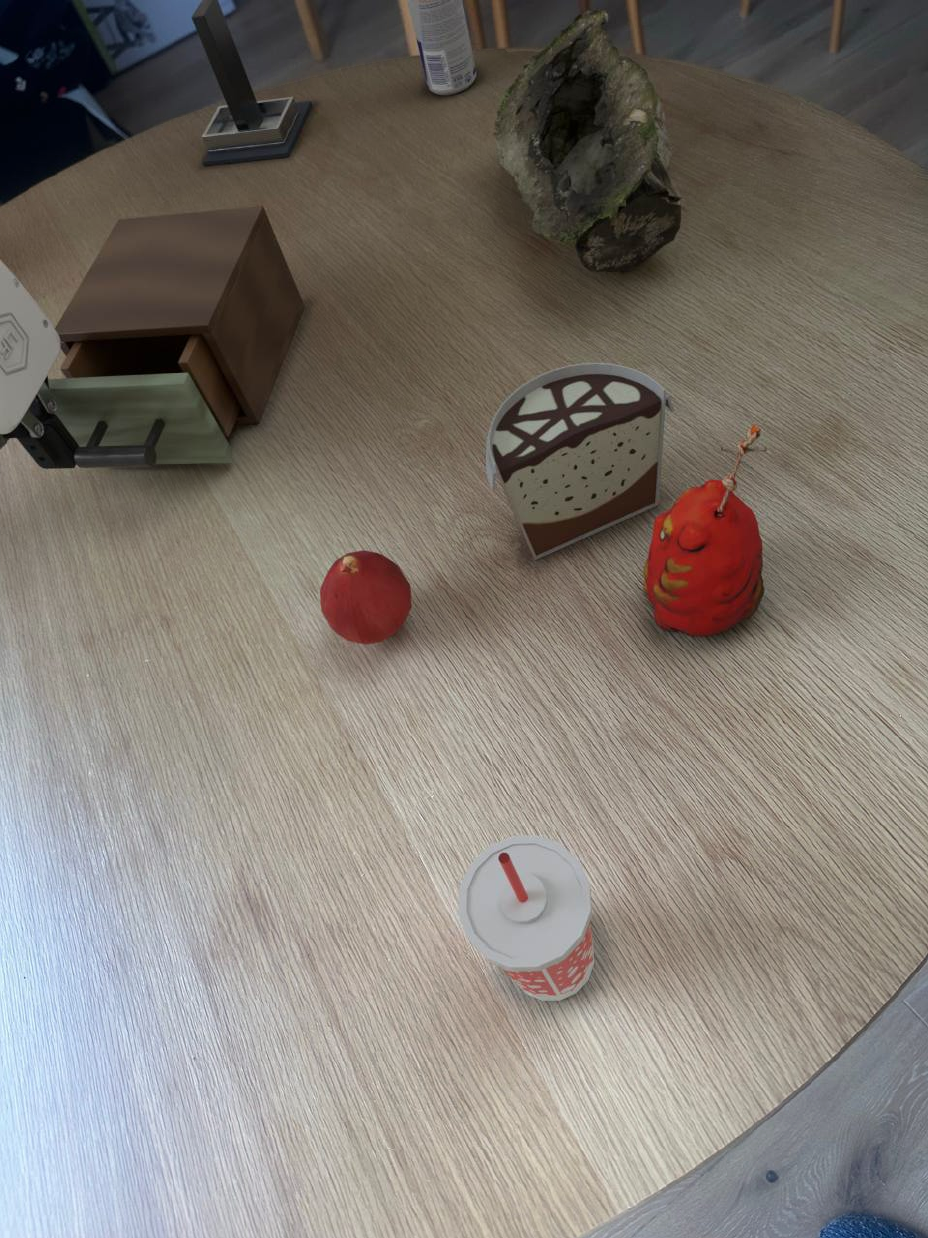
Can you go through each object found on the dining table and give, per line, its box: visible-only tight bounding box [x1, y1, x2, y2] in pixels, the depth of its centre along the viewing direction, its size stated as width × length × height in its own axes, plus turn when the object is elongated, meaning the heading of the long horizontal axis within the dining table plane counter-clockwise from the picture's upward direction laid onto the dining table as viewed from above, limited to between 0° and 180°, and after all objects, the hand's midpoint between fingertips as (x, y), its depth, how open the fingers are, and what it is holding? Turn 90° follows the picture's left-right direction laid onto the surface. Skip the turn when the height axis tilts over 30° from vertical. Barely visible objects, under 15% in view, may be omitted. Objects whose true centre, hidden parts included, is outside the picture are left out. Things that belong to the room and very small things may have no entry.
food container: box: [485, 362, 675, 561], centre depth 65 cm, size 12×6×10 cm, turn 111°
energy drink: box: [406, 0, 477, 96], centre depth 101 cm, size 5×5×12 cm
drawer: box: [48, 334, 241, 469], centre depth 78 cm, size 18×12×8 cm
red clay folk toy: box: [642, 424, 768, 638], centre depth 56 cm, size 8×7×15 cm
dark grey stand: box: [191, 0, 300, 154], centre depth 102 cm, size 9×6×13 cm, turn 80°
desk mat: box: [202, 100, 313, 167], centre depth 108 cm, size 10×10×1 cm
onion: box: [319, 550, 412, 645], centre depth 63 cm, size 6×6×8 cm
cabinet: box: [54, 205, 305, 425], centre depth 82 cm, size 15×14×10 cm
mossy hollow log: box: [493, 8, 683, 275], centre depth 82 cm, size 28×13×15 cm
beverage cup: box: [457, 834, 595, 1002], centre depth 46 cm, size 6×6×14 cm
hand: (62, 460), depth 76 cm, fingers closed
